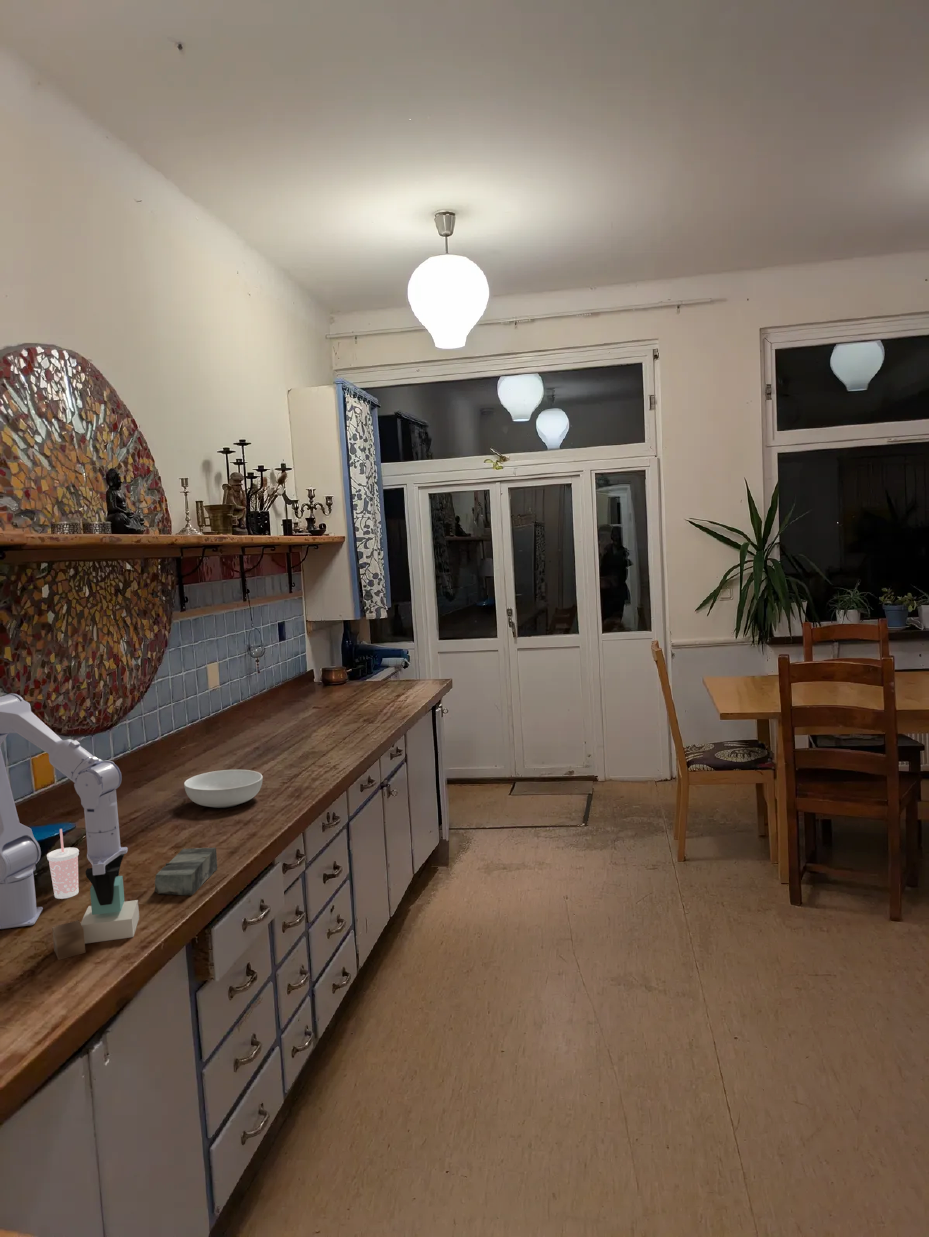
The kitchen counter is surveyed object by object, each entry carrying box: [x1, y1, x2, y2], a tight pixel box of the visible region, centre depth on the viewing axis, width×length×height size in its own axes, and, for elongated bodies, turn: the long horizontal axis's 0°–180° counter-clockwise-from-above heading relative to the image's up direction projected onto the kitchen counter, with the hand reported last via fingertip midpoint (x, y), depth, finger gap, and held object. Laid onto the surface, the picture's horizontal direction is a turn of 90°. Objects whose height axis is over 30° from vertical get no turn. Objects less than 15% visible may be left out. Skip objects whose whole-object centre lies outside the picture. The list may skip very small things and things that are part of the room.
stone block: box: [154, 847, 218, 896], centre depth 194 cm, size 9×14×5 cm, turn 174°
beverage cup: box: [46, 828, 80, 900], centre depth 189 cm, size 6×6×14 cm
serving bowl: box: [183, 769, 264, 809], centre depth 250 cm, size 21×21×7 cm
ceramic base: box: [80, 899, 140, 944], centre depth 171 cm, size 9×9×4 cm
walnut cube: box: [51, 920, 86, 961], centre depth 163 cm, size 4×4×4 cm
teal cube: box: [89, 875, 125, 915], centre depth 171 cm, size 5×5×5 cm
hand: (108, 898), depth 171 cm, fingers closed on teal cube, 5 cm apart
